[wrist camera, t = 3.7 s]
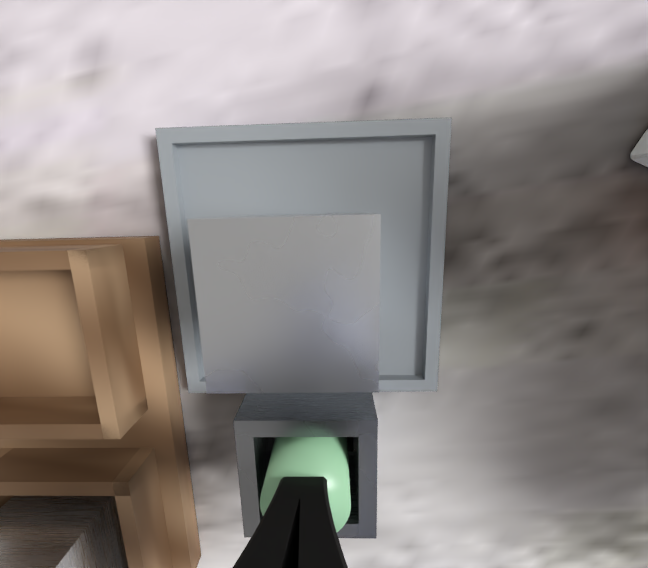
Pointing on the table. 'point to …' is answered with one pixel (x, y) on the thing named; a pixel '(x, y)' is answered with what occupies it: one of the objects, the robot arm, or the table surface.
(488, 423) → the table surface
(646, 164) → the skincare box
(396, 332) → the grey square tray
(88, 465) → the wooden divided tray
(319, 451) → the button
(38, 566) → the seated billet
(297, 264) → the billet
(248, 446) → the button housing
